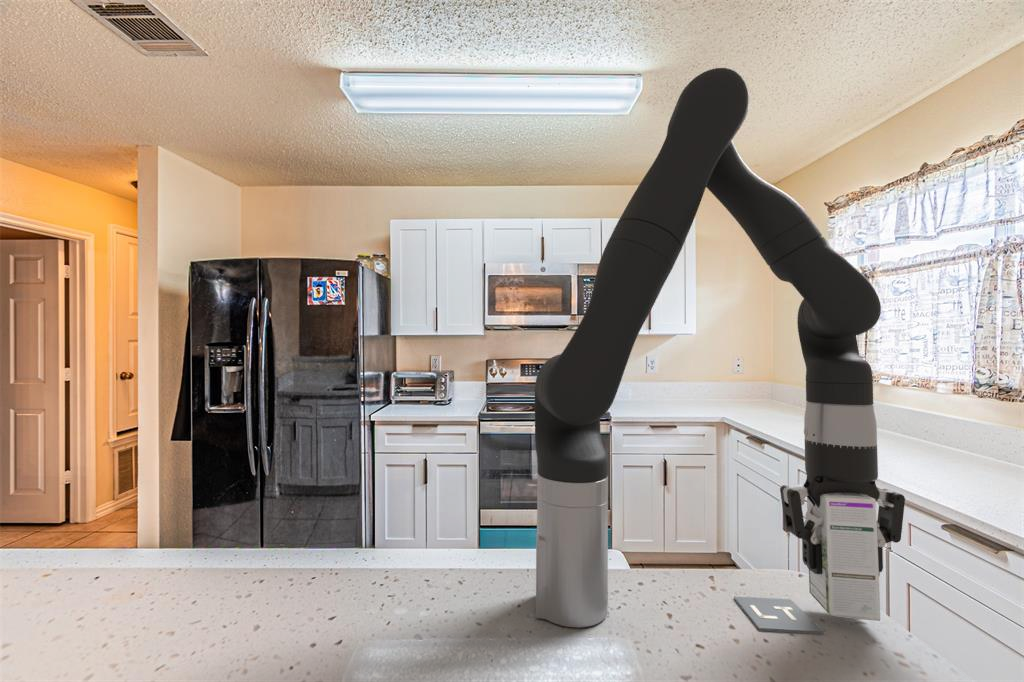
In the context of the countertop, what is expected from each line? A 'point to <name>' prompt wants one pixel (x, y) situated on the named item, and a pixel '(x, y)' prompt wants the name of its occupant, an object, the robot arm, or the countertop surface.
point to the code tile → (777, 615)
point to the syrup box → (847, 556)
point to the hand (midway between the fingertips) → (842, 572)
